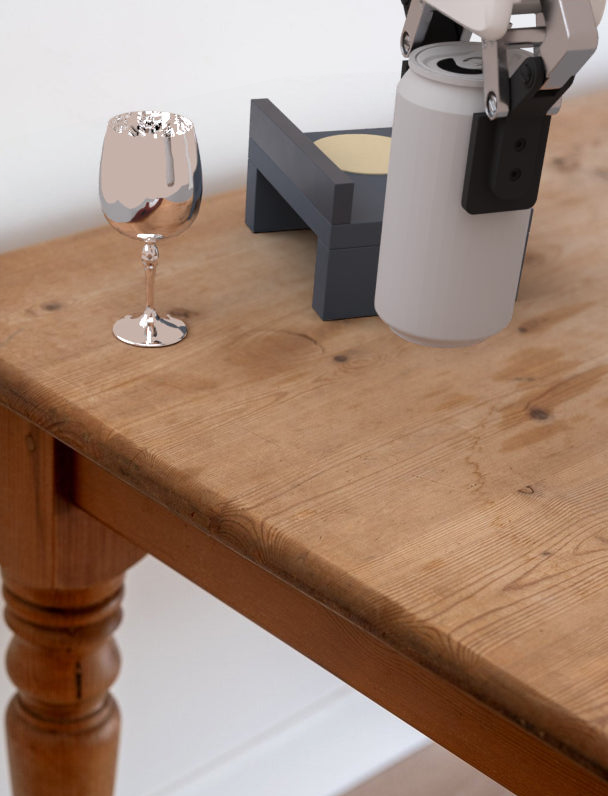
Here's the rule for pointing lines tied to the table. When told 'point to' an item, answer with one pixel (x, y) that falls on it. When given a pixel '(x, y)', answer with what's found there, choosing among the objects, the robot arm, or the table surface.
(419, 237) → the beverage can
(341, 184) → the dark grey stand
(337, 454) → the table surface
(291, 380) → the table surface
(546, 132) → the robot arm
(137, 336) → the wineglass
